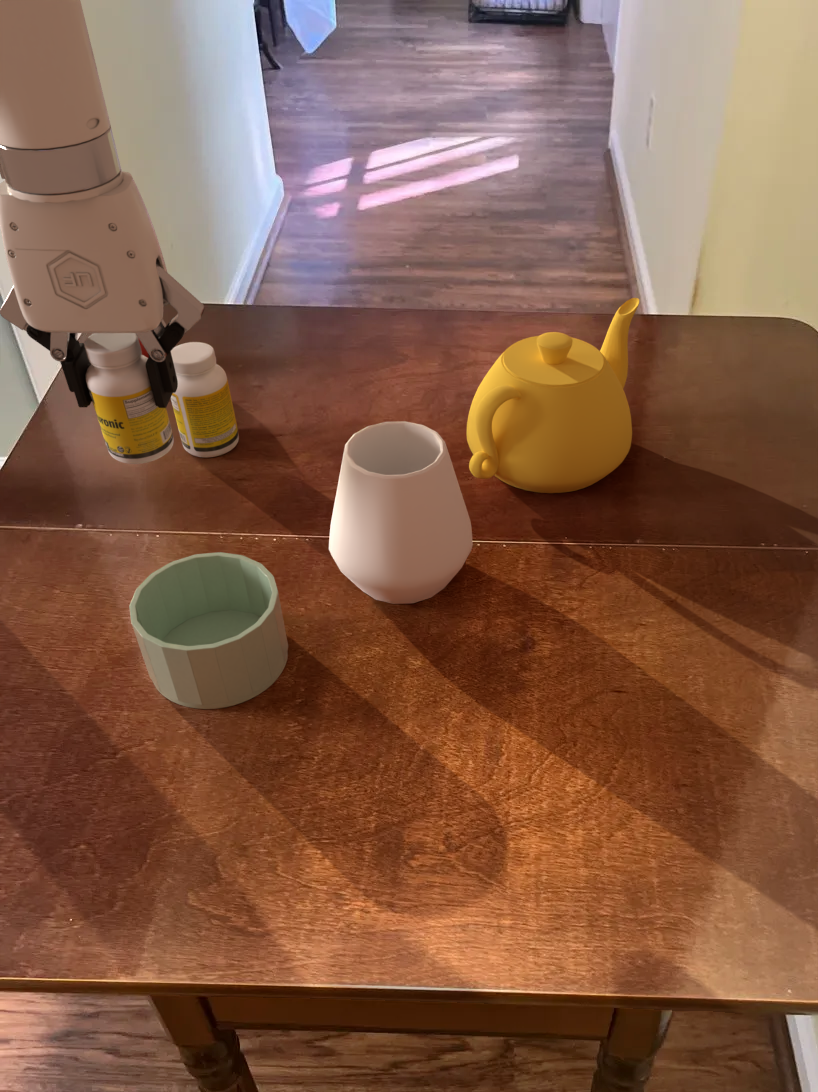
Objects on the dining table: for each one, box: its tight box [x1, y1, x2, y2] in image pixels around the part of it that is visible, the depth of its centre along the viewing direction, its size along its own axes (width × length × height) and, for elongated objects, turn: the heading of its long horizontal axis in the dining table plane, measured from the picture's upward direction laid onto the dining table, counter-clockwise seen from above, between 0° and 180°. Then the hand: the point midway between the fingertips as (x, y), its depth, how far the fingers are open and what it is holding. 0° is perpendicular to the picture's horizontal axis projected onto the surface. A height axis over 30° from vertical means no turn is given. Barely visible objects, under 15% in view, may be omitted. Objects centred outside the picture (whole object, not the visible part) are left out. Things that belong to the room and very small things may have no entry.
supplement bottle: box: [84, 333, 175, 465], centre depth 79 cm, size 5×5×10 cm
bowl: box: [128, 551, 289, 710], centre depth 83 cm, size 12×12×7 cm
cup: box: [328, 420, 474, 605], centre depth 89 cm, size 13×13×14 cm
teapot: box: [465, 297, 640, 494], centre depth 103 cm, size 25×18×14 cm
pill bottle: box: [170, 341, 240, 459], centre depth 105 cm, size 6×6×11 cm
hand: (127, 396), depth 79 cm, fingers closed on supplement bottle, 5 cm apart
